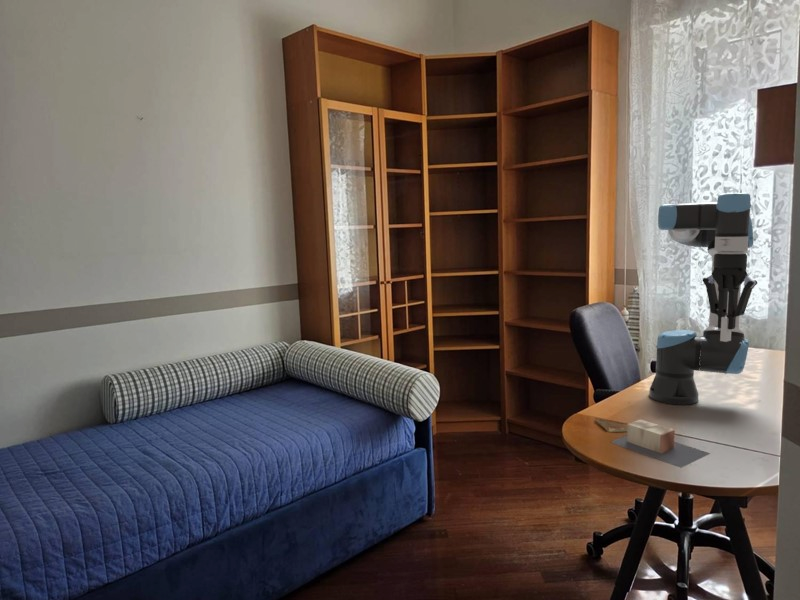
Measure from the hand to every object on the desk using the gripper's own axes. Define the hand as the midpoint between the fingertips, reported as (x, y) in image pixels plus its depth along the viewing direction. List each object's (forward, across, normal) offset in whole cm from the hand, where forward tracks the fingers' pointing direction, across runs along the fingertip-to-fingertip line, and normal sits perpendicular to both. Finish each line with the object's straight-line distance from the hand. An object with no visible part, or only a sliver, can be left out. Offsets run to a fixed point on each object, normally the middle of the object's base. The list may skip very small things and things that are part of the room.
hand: (725, 340), depth 149 cm
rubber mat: (+28, -7, -18) cm, 34 cm away
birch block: (+25, -4, -18) cm, 31 cm away
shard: (+29, -24, -15) cm, 41 cm away
